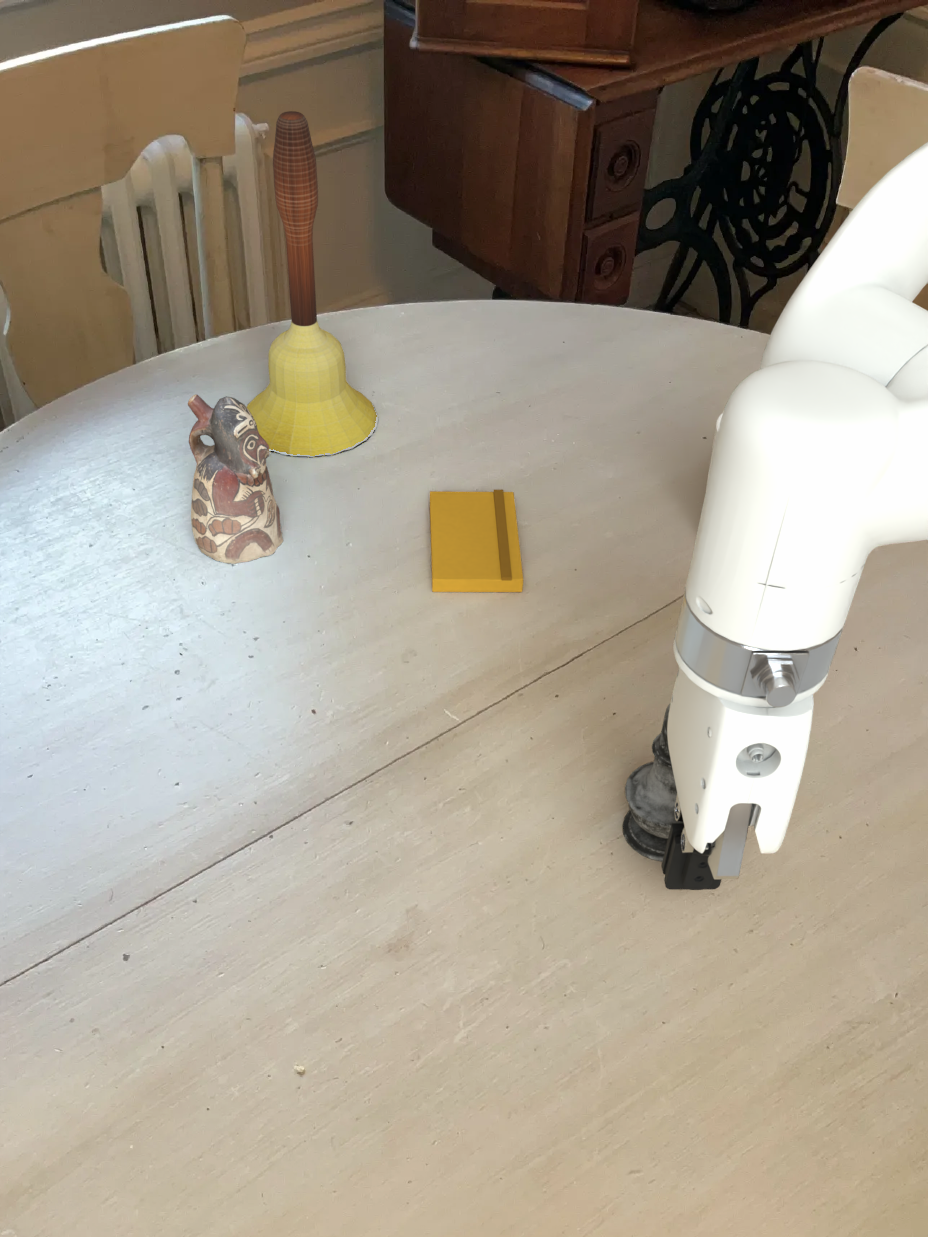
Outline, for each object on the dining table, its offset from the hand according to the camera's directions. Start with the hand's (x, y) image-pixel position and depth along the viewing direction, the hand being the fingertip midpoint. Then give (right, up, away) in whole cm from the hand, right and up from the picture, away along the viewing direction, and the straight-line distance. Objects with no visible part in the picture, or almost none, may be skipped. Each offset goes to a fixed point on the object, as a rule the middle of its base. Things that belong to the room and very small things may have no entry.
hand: (689, 878), depth 74 cm
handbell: (-27, +41, +40) cm, 63 cm away
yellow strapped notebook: (-12, +26, +28) cm, 40 cm away
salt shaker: (0, +3, +8) cm, 9 cm away
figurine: (-31, +27, +28) cm, 50 cm away
